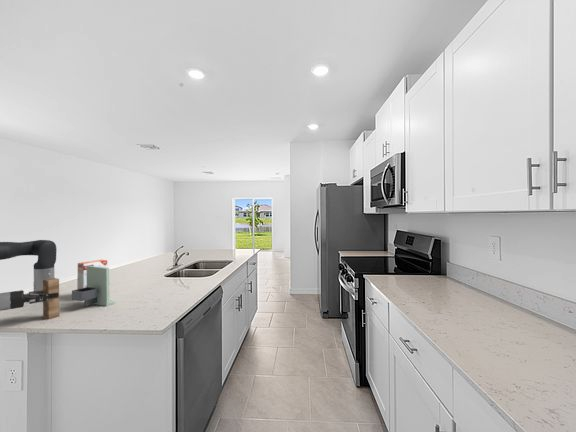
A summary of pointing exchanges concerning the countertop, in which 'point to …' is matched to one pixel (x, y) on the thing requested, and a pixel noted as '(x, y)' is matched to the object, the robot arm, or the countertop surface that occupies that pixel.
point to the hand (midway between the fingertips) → (57, 293)
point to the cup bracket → (95, 287)
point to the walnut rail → (51, 304)
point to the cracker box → (83, 271)
